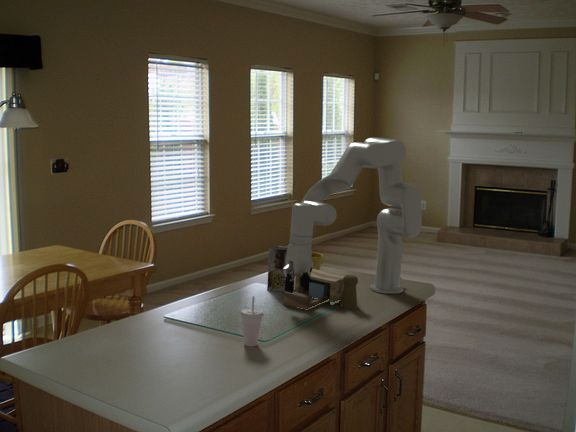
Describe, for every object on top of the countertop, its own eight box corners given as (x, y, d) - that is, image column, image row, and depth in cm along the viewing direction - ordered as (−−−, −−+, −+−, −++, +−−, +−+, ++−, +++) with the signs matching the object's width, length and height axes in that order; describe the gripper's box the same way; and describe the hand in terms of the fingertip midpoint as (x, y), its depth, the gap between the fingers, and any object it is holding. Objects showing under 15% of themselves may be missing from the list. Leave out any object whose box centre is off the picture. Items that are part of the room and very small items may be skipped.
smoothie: (241, 348, 181) (244, 299, 179) (237, 340, 187) (239, 293, 185) (264, 347, 183) (266, 299, 181) (259, 339, 189) (261, 292, 187)
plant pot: (319, 282, 258) (320, 258, 257) (293, 279, 260) (294, 255, 259) (323, 276, 268) (325, 253, 267) (299, 273, 270) (300, 250, 269)
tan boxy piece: (309, 290, 245) (311, 268, 244) (347, 299, 237) (349, 276, 235) (294, 296, 237) (295, 273, 235) (332, 305, 228) (334, 281, 227)
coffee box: (294, 289, 246) (297, 247, 244) (290, 293, 240) (292, 250, 238) (271, 286, 248) (273, 244, 246) (266, 290, 242) (268, 247, 240)
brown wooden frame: (315, 293, 242) (316, 281, 242) (337, 298, 237) (338, 286, 237) (283, 304, 225) (283, 292, 224) (306, 310, 220) (307, 297, 219)
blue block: (317, 295, 240) (318, 279, 239) (331, 298, 237) (332, 282, 236) (308, 298, 235) (309, 282, 234) (322, 301, 232) (323, 285, 231)
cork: (357, 304, 231) (359, 274, 229) (357, 309, 225) (359, 278, 223) (339, 303, 231) (342, 272, 230) (339, 308, 225) (341, 276, 224)
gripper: (305, 235, 229) (301, 283, 232) (277, 240, 215) (273, 291, 217) (323, 239, 225) (319, 287, 227) (296, 244, 211) (291, 296, 213)
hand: (296, 289), depth 222 cm, fingers open, 9 cm apart
